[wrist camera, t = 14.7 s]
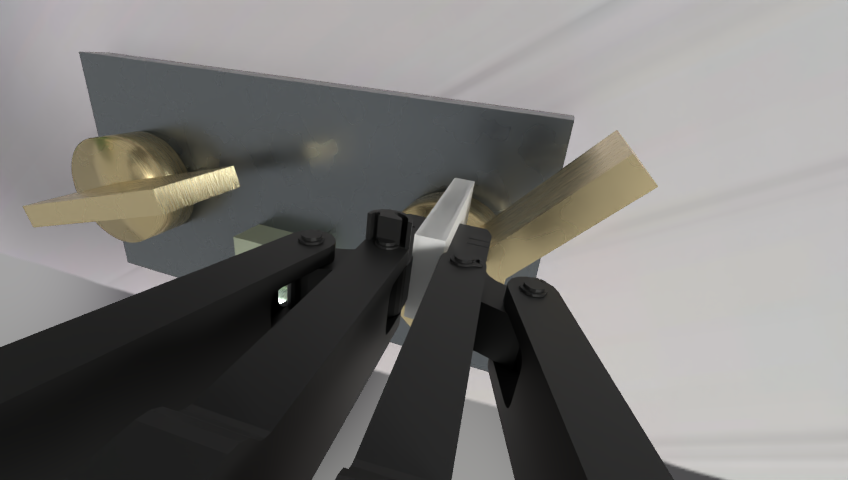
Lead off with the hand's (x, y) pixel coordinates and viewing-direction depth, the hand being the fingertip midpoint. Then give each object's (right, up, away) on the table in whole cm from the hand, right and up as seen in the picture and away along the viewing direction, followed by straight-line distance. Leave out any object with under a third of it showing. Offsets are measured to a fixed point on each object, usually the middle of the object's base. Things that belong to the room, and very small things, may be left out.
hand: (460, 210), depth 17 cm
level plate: (-10, +1, +11) cm, 15 cm away
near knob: (+2, 0, +5) cm, 5 cm away
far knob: (-17, +3, +11) cm, 21 cm away
